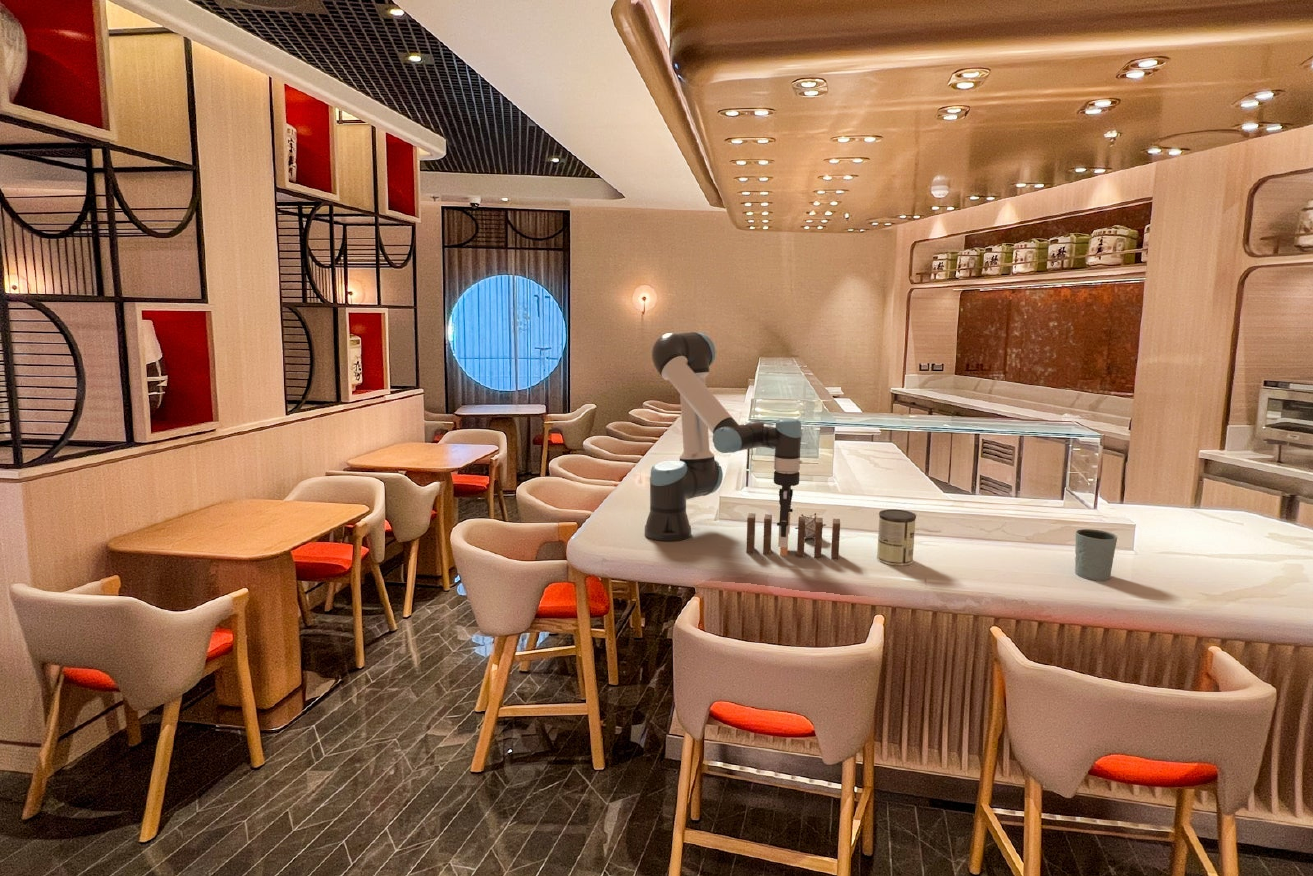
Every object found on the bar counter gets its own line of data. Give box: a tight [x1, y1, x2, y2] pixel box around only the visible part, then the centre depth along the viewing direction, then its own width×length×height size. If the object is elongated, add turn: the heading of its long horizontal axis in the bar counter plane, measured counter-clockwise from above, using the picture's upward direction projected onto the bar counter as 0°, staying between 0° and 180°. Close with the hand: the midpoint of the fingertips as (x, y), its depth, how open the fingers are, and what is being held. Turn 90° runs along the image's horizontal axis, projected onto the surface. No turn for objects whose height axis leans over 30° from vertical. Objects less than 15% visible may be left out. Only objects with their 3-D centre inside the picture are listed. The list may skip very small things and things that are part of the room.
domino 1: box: [745, 512, 756, 554], centre depth 230 cm, size 2×5×11 cm, turn 168°
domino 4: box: [796, 516, 806, 558], centre depth 227 cm, size 2×5×11 cm, turn 168°
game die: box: [794, 512, 827, 541], centre depth 243 cm, size 9×8×10 cm
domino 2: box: [762, 513, 773, 555], centre depth 229 cm, size 2×5×11 cm, turn 168°
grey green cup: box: [1074, 528, 1118, 582], centre depth 212 cm, size 10×10×12 cm
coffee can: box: [876, 508, 917, 567], centre depth 223 cm, size 10×10×14 cm
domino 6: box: [830, 518, 841, 561], centre depth 225 cm, size 2×5×11 cm, turn 168°
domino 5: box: [813, 517, 824, 559], centre depth 226 cm, size 2×5×11 cm, turn 168°
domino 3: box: [779, 518, 789, 557], centre depth 228 cm, size 2×5×11 cm, turn 168°
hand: (784, 540), depth 229 cm, fingers open, 13 cm apart
